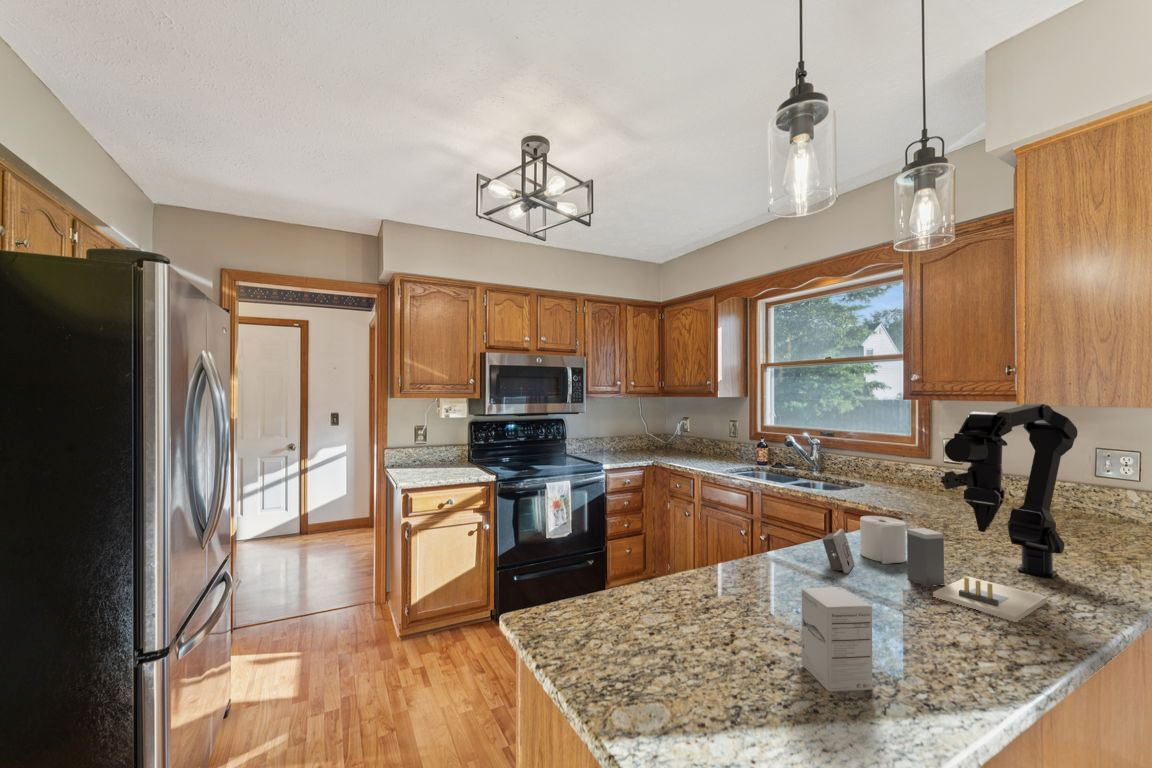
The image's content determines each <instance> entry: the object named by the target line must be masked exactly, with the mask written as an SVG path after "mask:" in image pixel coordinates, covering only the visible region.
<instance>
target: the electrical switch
mask: <svg viewBox="0 0 1152 768" xmlns="http://www.w3.org/2000/svg"><path fill="white" fill-rule="evenodd" d="M822 543H823V546H824V549H825V552H826V556H827V560H828V562H829V566H830V569H831V571H834V572H835V571H842V572H843V574H849V573H850V572H851V570H852V568H854V566H855V561H854V557H853V554H852V550H851V547H850V545H849V541H848V538H847V535H846V533H845V530H844V529H843V528H839V529H838V530H837V531H836V532H830V533H827V535H826V536H825V537H823V539H822Z"/></svg>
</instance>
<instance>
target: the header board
mask: <svg viewBox="0 0 1152 768" xmlns="http://www.w3.org/2000/svg"><path fill="white" fill-rule="evenodd" d="M932 594H933V595H932V598H933V597H936V598H935V599H937V598H939V599H938V600H940V599H942V600H941V601H943V600H946V601H950V602H953V603H956V604H959V605H958V606H960V605H962V606H961V607H963V606H966V607H969V608H973V609H976V610H979V611H982V612H981V613H983V612H985V613H984V614H986V613H988V614H987V615H989V614H991V615H990V616H992V615H994V616H993V617H996V616H997V617H996V618H999V617H1000V618H999V619H1002V618H1003V620H1006V619H1007V620H1006V621H1009V622H1012V621H1013V623H1015V622H1017V623H1019V622H1020V621H1021V620H1023V619H1024V618H1025V616H1026V617H1027V616H1028V615H1030V614H1031V613H1033V612H1035V611H1036V610H1038V609H1039V608H1041V607H1042V606H1044V605H1046V604H1047V601H1048V597H1047V596H1045V595H1041V594H1038V593H1034V592H1029V591H1025V590H1022V589H1018V588H1014V587H1011V586H1007V585H1002V584H999V583H996V582H991V581H987V580H983V579H979V578H975V577H971V576H968V575H967V576H965V577H963V578H961V579H959V580H956V581H954V582H952V583H950V584H948V585H946V586H945V585H944V586H942V587H941V588H939V589H936V590H934V591H933V592H932ZM946 601H945V602H946ZM950 602H949V603H950ZM953 603H952V604H953ZM956 604H955V605H956ZM966 607H965V608H966ZM969 608H968V609H969ZM1037 608H1038V609H1037ZM973 609H972V610H973ZM976 610H975V611H976ZM1034 610H1035V611H1034ZM979 611H978V612H979ZM1022 618H1023V619H1022ZM1019 620H1020V621H1019Z"/></svg>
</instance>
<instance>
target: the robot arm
mask: <svg viewBox="0 0 1152 768" xmlns="http://www.w3.org/2000/svg"><path fill="white" fill-rule="evenodd" d="M1021 425H1023V429H1024V430H1025V431H1026V432H1027V433H1028V435H1029V438H1028V440H1029V441H1028V442H1030V444H1031V446H1032V448H1033V449H1034V453H1033V458H1032V463H1031V467H1030V472H1029V477H1028V482H1027V485H1026V486H1027V487H1026V490H1025V495H1024V498H1023V499H1024V501H1023V504H1022V505H1020V506H1019V507H1018V508H1015V507H1012V509H1011V511H1010V516H1009V520H1008V522H1007V531H1008V536H1009V539H1010V540H1009V541H1010V542H1011V544H1012V545H1017V546H1021V548H1020V549H1021V551H1020V552H1021V553H1020V554H1021V565H1020V566H1019V567H1018V568H1017V569H1016V570H1017V572H1019V571H1020V573H1023V574H1030V575H1032V576H1033V575H1034V576H1039V577H1044V578H1048V579H1054V578H1055V577H1056V575H1057V574H1058V570H1054V565H1053V564H1054V562H1053V559H1054V558H1053V556H1054V555H1053V554H1059V555H1061V554H1062V553H1063V552H1064V550H1065V541H1063V539H1062V538H1061V537H1060V534H1059V533H1058V532H1057V531H1056V528H1057V523H1056V520H1055V519H1054V517H1053V515H1052V513H1051V512H1050V511H1051V507H1052V500H1053V497H1054V491H1055V487H1056V482H1057V478H1058V474H1059V473H1058V472H1059V467H1060V462H1061V459H1062V456H1063V455H1065V454H1066V453H1068V451H1070V450H1071V449H1072V448H1073V446H1074V442H1075V440H1076V438H1077V437H1078V428H1077V427H1076V426H1075V423H1073V422H1072V421H1071V420H1070V418H1069V417H1067V416H1065V415H1063V414H1061V413H1059V412H1057V411H1055V410H1054V409H1053V408H1052V407H1051V406H1050V405H1048V404H1044V403H1026V404H1022V405H1020V406H1016V407H1011V408H1007V409H1002V410H998V411H984V410H983V411H982V410H977V411H976V410H973V411H971V412H970V413H968V415H967V417H966V418H965V420H964V422H963V423H962V425H961V426H960V428H959V430H958V432H954V434H953V435H954V436H953V438H950V439H949V440H948V441H947V442H946V444H945V446H944V453H945V455H946V456H947V458H948V459H949V460H951V461H952V462H956V463H970V466H968V467H967V471H966V472H961V473H956V472H955V471H954V470H951V471H945V472H944V475H942V476H940V480H941V483H942V485H943V487H944V489H945V490H951V489H953V488H959V487H965V486H966V489H965V490H963V500H964V501H965V503H966V504H968V505H969V506H970V507H971V508H972V509H973V512H974V516H975V521H976V522H975V523H976V526H977V529H978V532H981V533H985V532H986V530H987V529H988V528H990V526H991V525H992V522H993V521H994V518H995V517H996V515H997V513H998V512H999V510H1000V508H1001V507H1002V504H1003V502H1005V501H1004V499H1005V498H1006V497H1005V496H1006V490H1005V488H1003V486H1002V474H1003V467H1002V464H1003V446H1004V447H1007V446H1008V442H1007V441H1006V440H1004V439H1003V438H1002V437H1004V436H1005V435H1007V434H1009V433H1011V432H1013V428H1014V427H1017V426H1021Z"/></svg>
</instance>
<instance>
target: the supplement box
mask: <svg viewBox="0 0 1152 768" xmlns="http://www.w3.org/2000/svg"><path fill="white" fill-rule="evenodd" d="M801 666H802V667H803V668H804V669H805V670H807V671H808V672H809V673H810V674H811V675H812V676H813V678H815V679H816V681H818V683H820V685H822V686H823V687H824V688H825V690H826V691H827V692H829V693H831V692H835V693H836V692H850V691H851V692H852V691H853V692H854V691H868V690H869V691H870V690H873V606H872V605H871V604H869V602H866V601H864V600H862V599H861V598H860V597H857V596H856V595H854V594H853V593H851V592H850V591H849V590H847V589H845V588H843V587H841V586H840V587H839V586H838V587H837V586H834V587H832V586H831V587H807V588H801Z"/></svg>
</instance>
